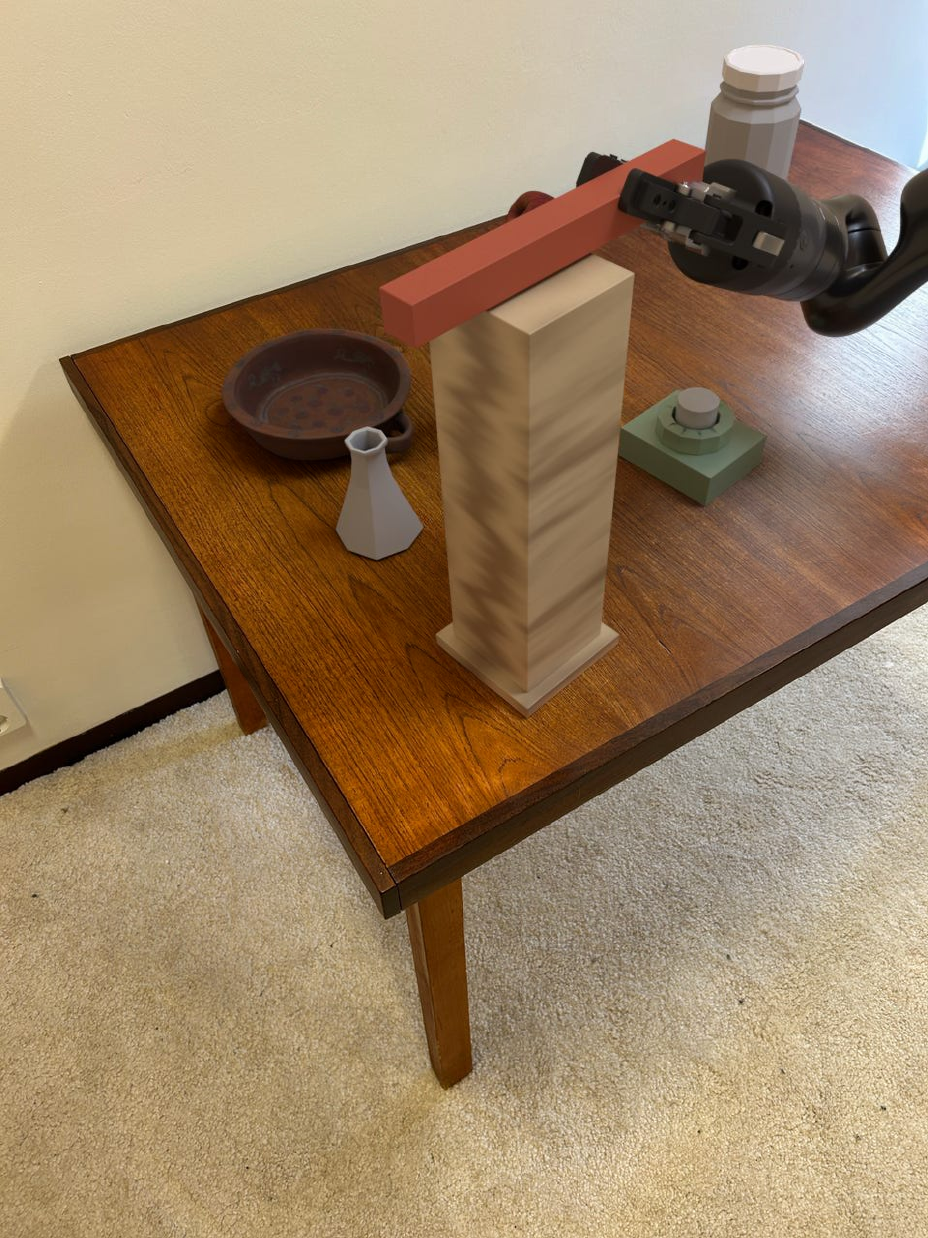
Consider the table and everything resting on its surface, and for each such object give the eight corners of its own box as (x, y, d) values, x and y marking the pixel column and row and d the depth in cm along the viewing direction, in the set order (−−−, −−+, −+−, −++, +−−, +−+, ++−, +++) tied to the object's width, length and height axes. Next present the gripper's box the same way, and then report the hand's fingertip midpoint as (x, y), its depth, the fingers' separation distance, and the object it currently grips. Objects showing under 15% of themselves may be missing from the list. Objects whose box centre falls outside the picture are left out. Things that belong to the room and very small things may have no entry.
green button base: (760, 463, 87) (771, 418, 84) (705, 506, 84) (713, 461, 80) (673, 416, 92) (680, 372, 89) (618, 455, 89) (622, 410, 85)
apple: (504, 245, 115) (503, 178, 109) (570, 244, 115) (572, 177, 109) (504, 278, 110) (503, 210, 104) (572, 276, 110) (575, 208, 104)
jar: (678, 221, 117) (698, 59, 104) (727, 193, 121) (754, 34, 108) (744, 249, 112) (775, 83, 99) (794, 219, 116) (830, 55, 103)
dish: (346, 514, 85) (338, 471, 82) (181, 427, 95) (167, 384, 91) (467, 414, 94) (464, 371, 90) (305, 343, 104) (296, 301, 100)
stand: (618, 644, 74) (662, 271, 51) (527, 718, 70) (529, 350, 47) (526, 577, 79) (528, 211, 56) (436, 643, 75) (397, 277, 52)
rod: (701, 191, 56) (706, 149, 54) (415, 349, 47) (410, 305, 45) (668, 179, 57) (673, 137, 55) (383, 330, 48) (378, 286, 46)
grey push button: (724, 418, 85) (728, 398, 83) (698, 436, 83) (702, 417, 82) (692, 400, 86) (695, 381, 85) (666, 418, 85) (668, 399, 83)
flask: (383, 491, 87) (370, 400, 80) (438, 529, 84) (430, 437, 76) (321, 532, 84) (301, 441, 77) (375, 573, 81) (360, 481, 73)
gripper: (810, 326, 63) (678, 296, 50) (645, 253, 70) (492, 211, 57) (869, 208, 59) (745, 143, 46) (689, 144, 66) (538, 72, 54)
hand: (606, 181), depth 52 cm, fingers closed on rod, 2 cm apart
